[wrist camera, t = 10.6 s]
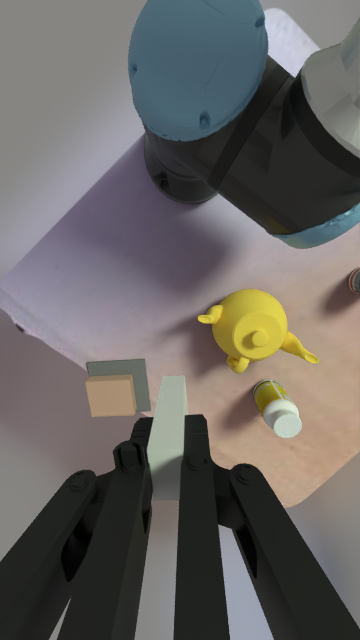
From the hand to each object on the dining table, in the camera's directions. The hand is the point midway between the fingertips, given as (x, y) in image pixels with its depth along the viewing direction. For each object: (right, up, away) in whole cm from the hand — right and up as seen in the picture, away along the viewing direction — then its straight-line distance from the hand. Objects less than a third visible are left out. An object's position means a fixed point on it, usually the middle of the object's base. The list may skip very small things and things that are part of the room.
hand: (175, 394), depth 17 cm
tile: (-9, -10, +35) cm, 37 cm away
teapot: (+13, +4, +32) cm, 35 cm away
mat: (-12, -9, +36) cm, 40 cm away
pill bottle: (+19, -10, +36) cm, 41 cm away
